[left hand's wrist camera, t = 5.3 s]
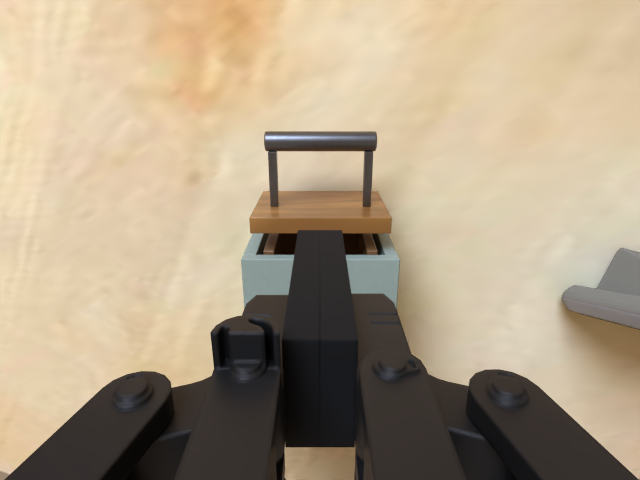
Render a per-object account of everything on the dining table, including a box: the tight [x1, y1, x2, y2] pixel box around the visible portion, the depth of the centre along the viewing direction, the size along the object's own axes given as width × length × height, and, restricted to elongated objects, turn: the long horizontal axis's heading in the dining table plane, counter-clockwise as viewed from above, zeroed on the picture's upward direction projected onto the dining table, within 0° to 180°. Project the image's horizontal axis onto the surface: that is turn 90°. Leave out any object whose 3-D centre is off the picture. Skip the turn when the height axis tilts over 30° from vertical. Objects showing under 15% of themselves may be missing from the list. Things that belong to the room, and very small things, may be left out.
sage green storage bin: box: [241, 233, 400, 308], centre depth 37 cm, size 16×11×10 cm
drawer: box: [250, 132, 392, 255], centre depth 35 cm, size 20×10×8 cm, turn 0°
